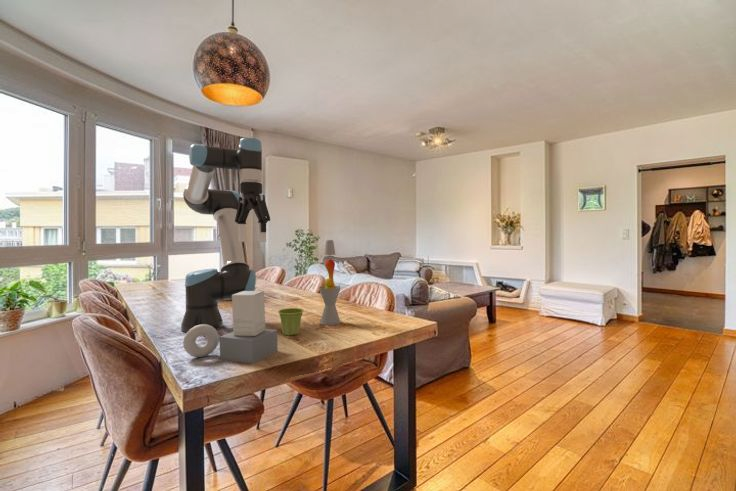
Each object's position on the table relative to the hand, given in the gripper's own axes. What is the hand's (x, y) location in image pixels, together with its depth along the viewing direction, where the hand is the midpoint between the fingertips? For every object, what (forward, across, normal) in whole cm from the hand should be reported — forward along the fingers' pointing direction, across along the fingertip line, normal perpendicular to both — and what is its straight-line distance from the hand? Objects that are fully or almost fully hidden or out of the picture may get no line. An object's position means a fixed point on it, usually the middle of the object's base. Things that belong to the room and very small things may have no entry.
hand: (252, 241), depth 127 cm
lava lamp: (+35, -4, -33) cm, 48 cm away
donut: (+35, -7, +21) cm, 41 cm away
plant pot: (+35, -6, -12) cm, 37 cm away
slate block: (+35, -16, +10) cm, 40 cm away
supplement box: (+28, -16, +10) cm, 34 cm away
